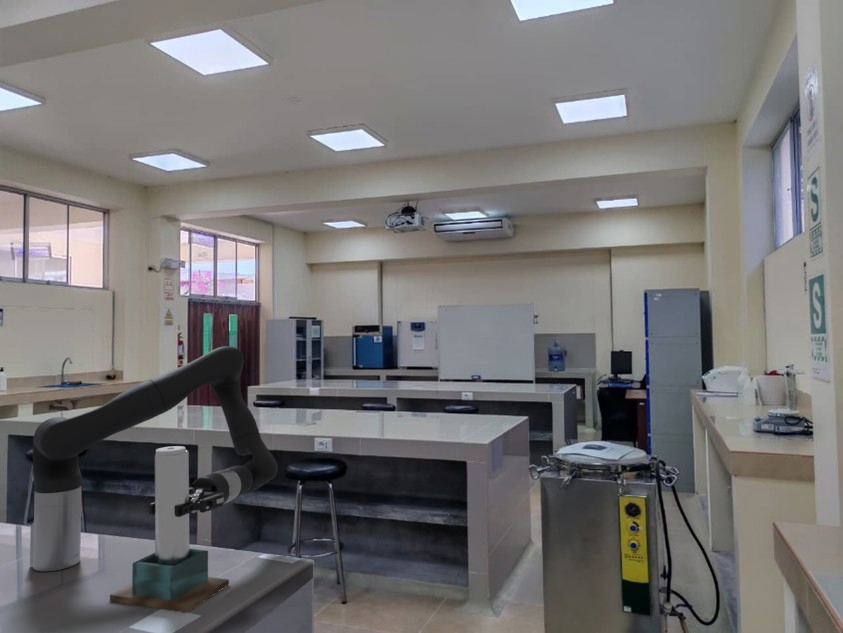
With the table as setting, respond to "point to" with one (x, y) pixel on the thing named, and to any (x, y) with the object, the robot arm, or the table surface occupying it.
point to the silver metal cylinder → (171, 505)
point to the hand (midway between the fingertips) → (164, 510)
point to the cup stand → (170, 583)
